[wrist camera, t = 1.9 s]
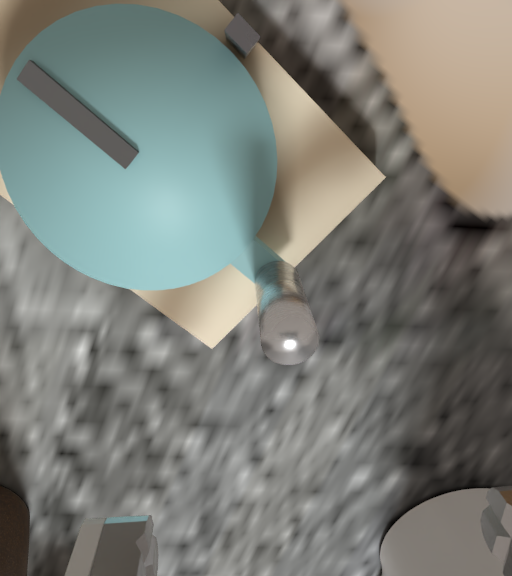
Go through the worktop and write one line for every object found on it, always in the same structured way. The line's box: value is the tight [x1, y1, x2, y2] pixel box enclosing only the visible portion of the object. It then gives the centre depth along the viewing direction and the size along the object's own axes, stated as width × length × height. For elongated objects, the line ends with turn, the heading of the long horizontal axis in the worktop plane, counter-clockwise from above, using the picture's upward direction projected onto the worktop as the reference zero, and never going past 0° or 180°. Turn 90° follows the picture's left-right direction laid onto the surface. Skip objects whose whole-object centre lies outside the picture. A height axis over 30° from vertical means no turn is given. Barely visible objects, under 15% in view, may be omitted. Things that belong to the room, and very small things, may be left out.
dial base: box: [0, 0, 386, 349], centre depth 22 cm, size 20×14×6 cm
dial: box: [0, 4, 319, 365], centre depth 19 cm, size 17×13×8 cm
